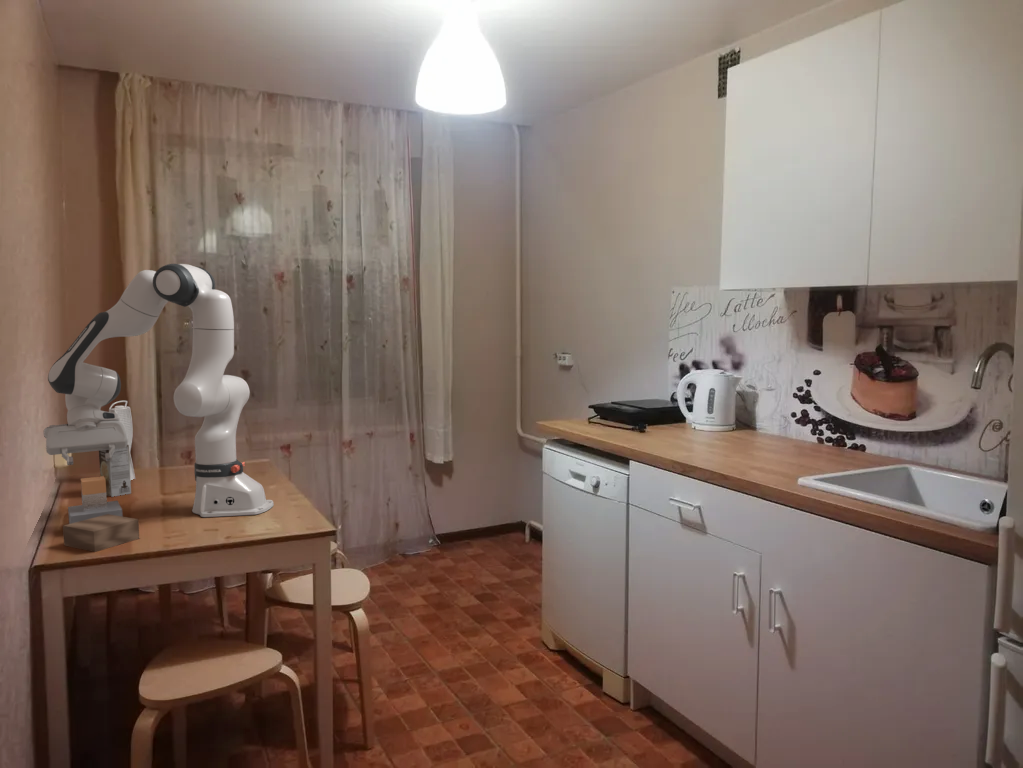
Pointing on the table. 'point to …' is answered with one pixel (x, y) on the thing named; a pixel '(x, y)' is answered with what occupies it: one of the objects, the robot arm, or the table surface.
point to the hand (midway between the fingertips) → (89, 461)
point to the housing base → (94, 502)
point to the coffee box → (116, 472)
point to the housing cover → (93, 485)
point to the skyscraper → (127, 422)
